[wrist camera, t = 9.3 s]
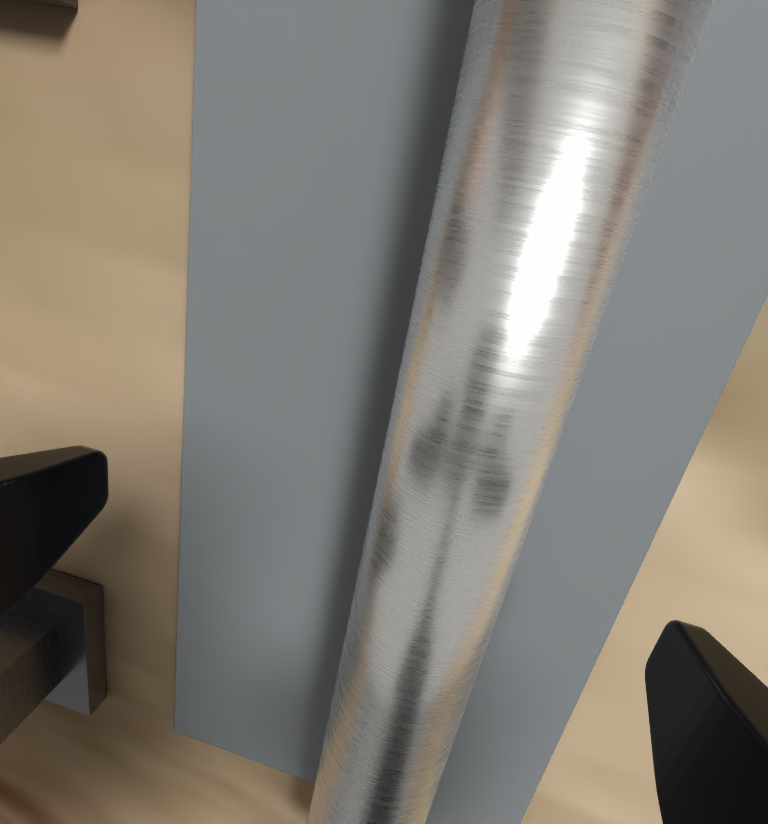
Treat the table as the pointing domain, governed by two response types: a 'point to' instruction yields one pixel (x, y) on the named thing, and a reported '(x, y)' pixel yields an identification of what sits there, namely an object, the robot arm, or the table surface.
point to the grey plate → (381, 359)
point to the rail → (493, 365)
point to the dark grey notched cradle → (52, 638)
